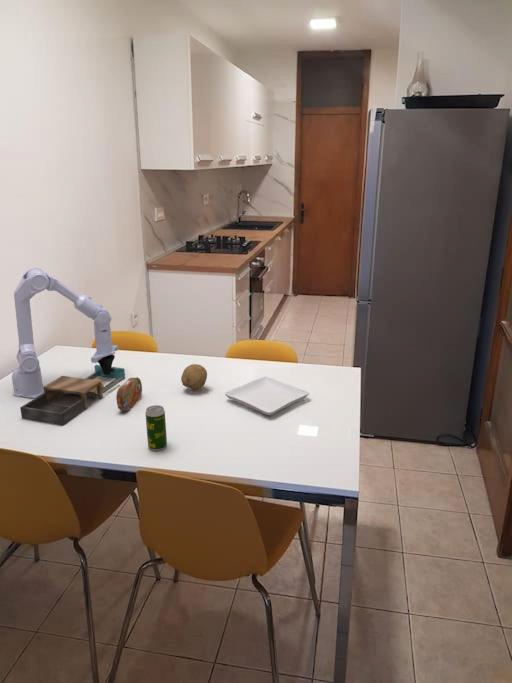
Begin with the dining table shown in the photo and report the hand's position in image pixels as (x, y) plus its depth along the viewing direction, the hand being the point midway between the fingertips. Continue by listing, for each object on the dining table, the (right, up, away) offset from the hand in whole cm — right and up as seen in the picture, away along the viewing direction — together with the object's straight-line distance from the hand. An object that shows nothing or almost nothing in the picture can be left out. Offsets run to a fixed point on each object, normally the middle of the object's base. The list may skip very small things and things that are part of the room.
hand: (107, 374), depth 200 cm
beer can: (+28, -18, -47) cm, 57 cm away
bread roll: (-3, -5, -9) cm, 11 cm away
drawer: (-2, -4, -6) cm, 7 cm away
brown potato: (+34, -5, -10) cm, 36 cm away
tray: (-6, -8, -18) cm, 20 cm away
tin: (+14, -9, -21) cm, 26 cm away
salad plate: (+60, -8, -18) cm, 63 cm away
